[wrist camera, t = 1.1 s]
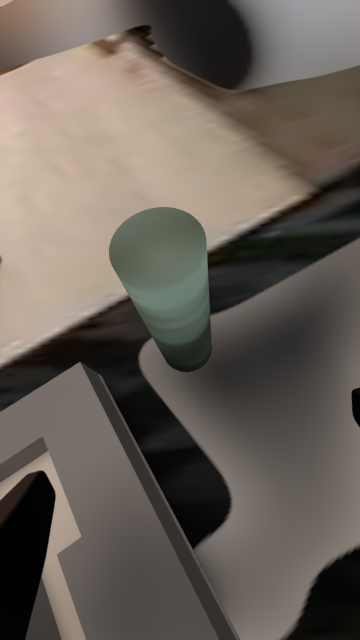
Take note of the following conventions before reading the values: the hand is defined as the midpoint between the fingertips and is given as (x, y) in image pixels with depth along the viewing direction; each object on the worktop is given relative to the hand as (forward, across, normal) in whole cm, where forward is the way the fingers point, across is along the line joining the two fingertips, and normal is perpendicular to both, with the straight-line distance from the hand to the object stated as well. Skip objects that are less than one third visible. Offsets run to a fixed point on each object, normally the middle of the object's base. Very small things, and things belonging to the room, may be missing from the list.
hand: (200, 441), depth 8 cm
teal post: (+15, 0, +4) cm, 15 cm away
